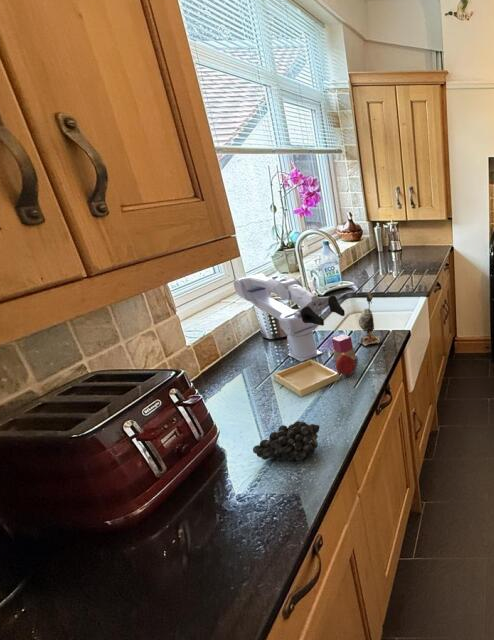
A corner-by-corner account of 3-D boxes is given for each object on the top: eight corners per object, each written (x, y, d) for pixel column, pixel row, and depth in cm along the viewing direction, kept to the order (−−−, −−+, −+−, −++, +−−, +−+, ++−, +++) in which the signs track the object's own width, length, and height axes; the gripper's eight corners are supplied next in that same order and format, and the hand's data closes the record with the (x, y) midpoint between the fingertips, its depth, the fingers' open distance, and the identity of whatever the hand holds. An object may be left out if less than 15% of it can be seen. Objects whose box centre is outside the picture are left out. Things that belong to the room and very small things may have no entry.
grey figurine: (379, 333, 160) (372, 285, 152) (381, 345, 150) (374, 294, 142) (358, 336, 157) (350, 288, 150) (358, 348, 147) (350, 296, 140)
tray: (274, 380, 127) (273, 374, 126) (312, 364, 136) (310, 359, 136) (301, 396, 118) (300, 390, 117) (339, 378, 127) (338, 373, 126)
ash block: (334, 360, 139) (332, 350, 137) (347, 355, 142) (345, 345, 141) (343, 364, 136) (341, 354, 134) (355, 359, 140) (354, 348, 138)
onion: (359, 371, 131) (356, 349, 128) (352, 380, 126) (348, 357, 123) (342, 370, 132) (338, 348, 129) (334, 379, 126) (330, 357, 123)
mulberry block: (333, 350, 137) (331, 338, 136) (345, 345, 141) (343, 333, 139) (341, 353, 135) (339, 341, 133) (353, 348, 138) (351, 336, 136)
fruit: (240, 432, 87) (311, 425, 89) (259, 421, 96) (324, 414, 97) (244, 471, 88) (315, 463, 89) (263, 456, 96) (327, 449, 97)
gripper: (283, 297, 124) (311, 316, 119) (324, 282, 135) (351, 299, 129) (286, 316, 128) (313, 335, 123) (326, 300, 139) (352, 316, 133)
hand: (333, 318), depth 126 cm, fingers open, 7 cm apart
